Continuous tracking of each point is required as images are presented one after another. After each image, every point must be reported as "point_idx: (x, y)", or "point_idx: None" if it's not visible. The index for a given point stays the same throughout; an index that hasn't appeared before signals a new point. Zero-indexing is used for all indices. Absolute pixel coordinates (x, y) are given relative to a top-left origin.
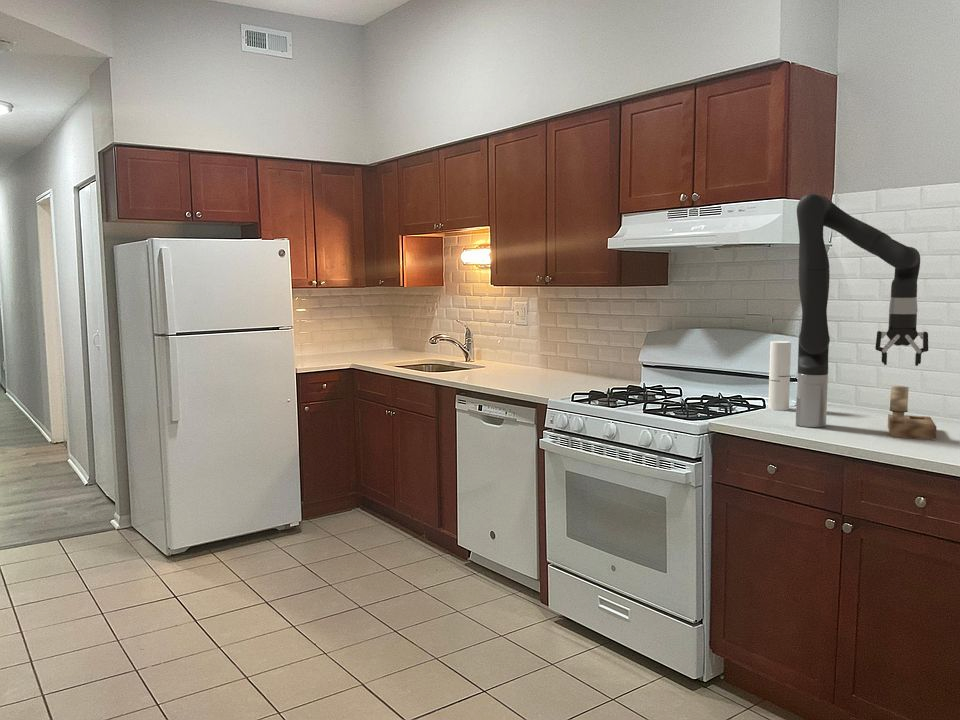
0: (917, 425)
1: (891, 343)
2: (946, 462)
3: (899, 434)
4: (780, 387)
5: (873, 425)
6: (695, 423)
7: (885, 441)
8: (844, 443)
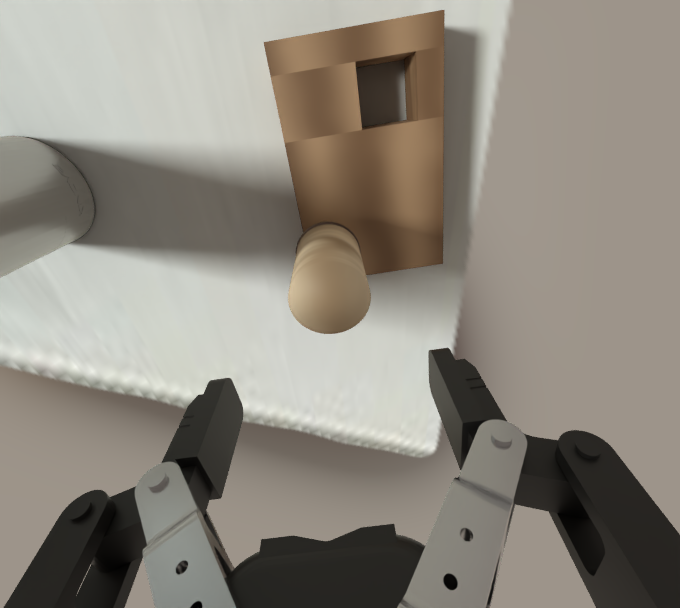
0: (388, 270)
1: (204, 560)
2: (429, 445)
3: None
4: None
5: (218, 56)
6: None
7: (311, 330)
8: None
